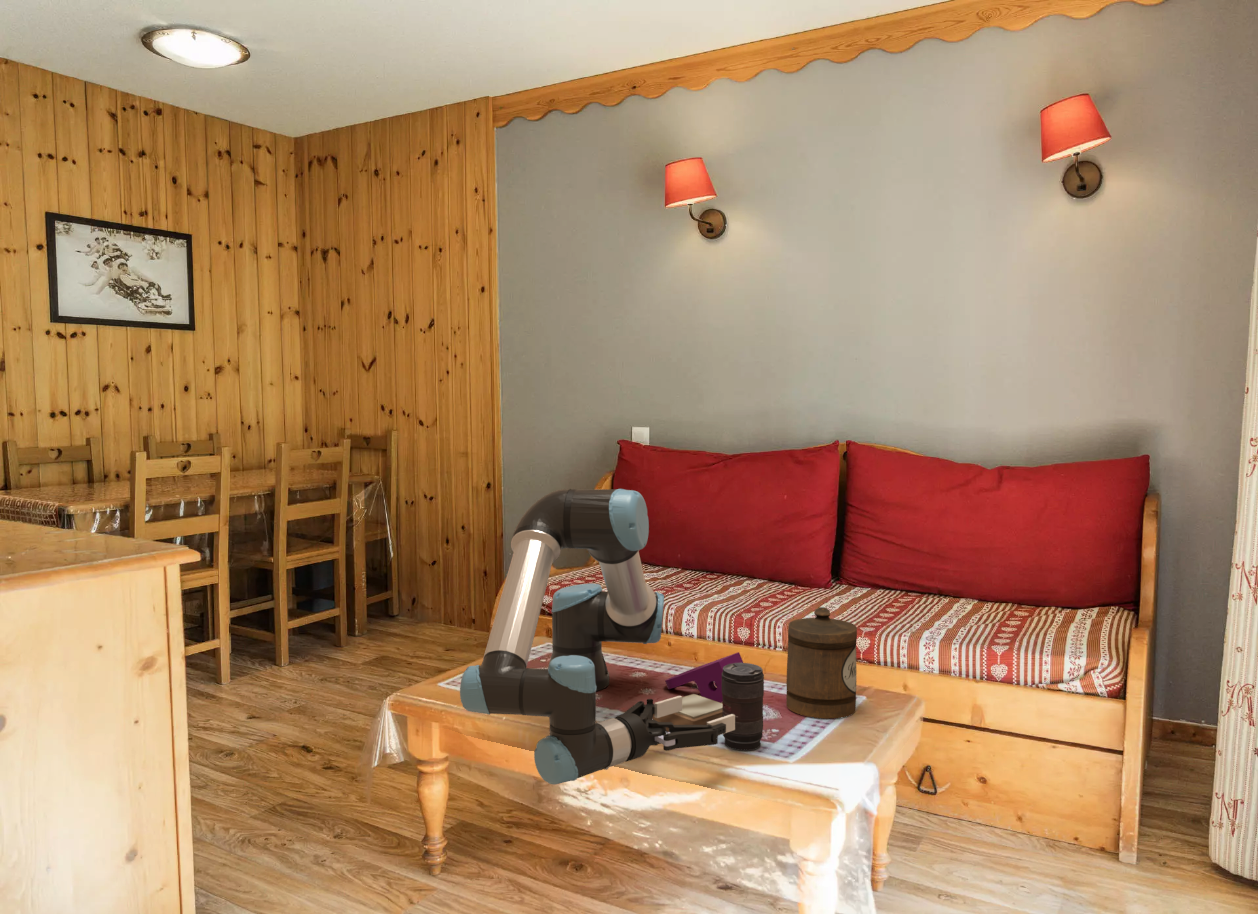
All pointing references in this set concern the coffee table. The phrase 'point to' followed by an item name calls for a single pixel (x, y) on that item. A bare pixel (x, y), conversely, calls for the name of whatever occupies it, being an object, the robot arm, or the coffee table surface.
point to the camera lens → (743, 704)
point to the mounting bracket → (706, 677)
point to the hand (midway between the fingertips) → (706, 712)
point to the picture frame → (694, 711)
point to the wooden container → (821, 666)
